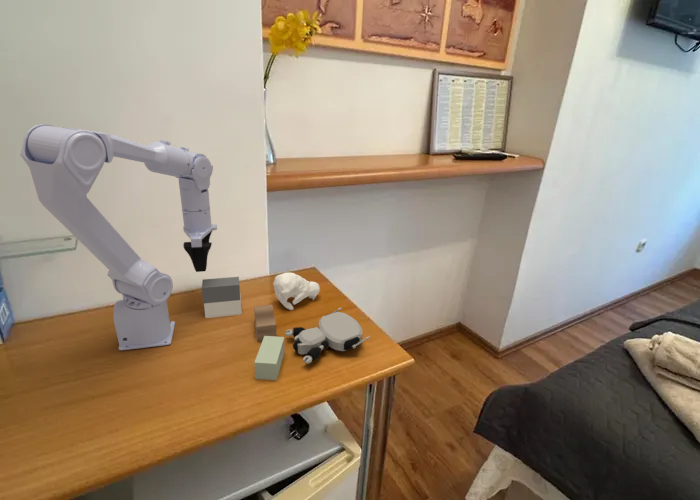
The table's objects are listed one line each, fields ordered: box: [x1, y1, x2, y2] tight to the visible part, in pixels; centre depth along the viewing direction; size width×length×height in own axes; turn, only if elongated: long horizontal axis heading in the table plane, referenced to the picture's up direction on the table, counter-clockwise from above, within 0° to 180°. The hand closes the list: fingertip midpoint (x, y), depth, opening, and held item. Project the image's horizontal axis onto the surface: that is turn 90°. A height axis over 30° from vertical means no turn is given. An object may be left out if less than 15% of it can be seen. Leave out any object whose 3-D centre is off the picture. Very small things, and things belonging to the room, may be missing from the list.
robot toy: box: [285, 307, 371, 365], centre depth 81 cm, size 12×4×15 cm
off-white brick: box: [203, 294, 243, 319], centre depth 90 cm, size 8×4×4 cm, turn 107°
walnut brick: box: [253, 304, 277, 343], centre depth 85 cm, size 8×4×4 cm, turn 16°
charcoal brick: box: [201, 276, 241, 305], centre depth 89 cm, size 8×4×4 cm, turn 107°
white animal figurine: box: [272, 272, 321, 311], centre depth 95 cm, size 6×8×12 cm
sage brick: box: [253, 335, 285, 381], centre depth 75 cm, size 8×4×4 cm, turn 179°
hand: (201, 263), depth 90 cm, fingers open, 7 cm apart
